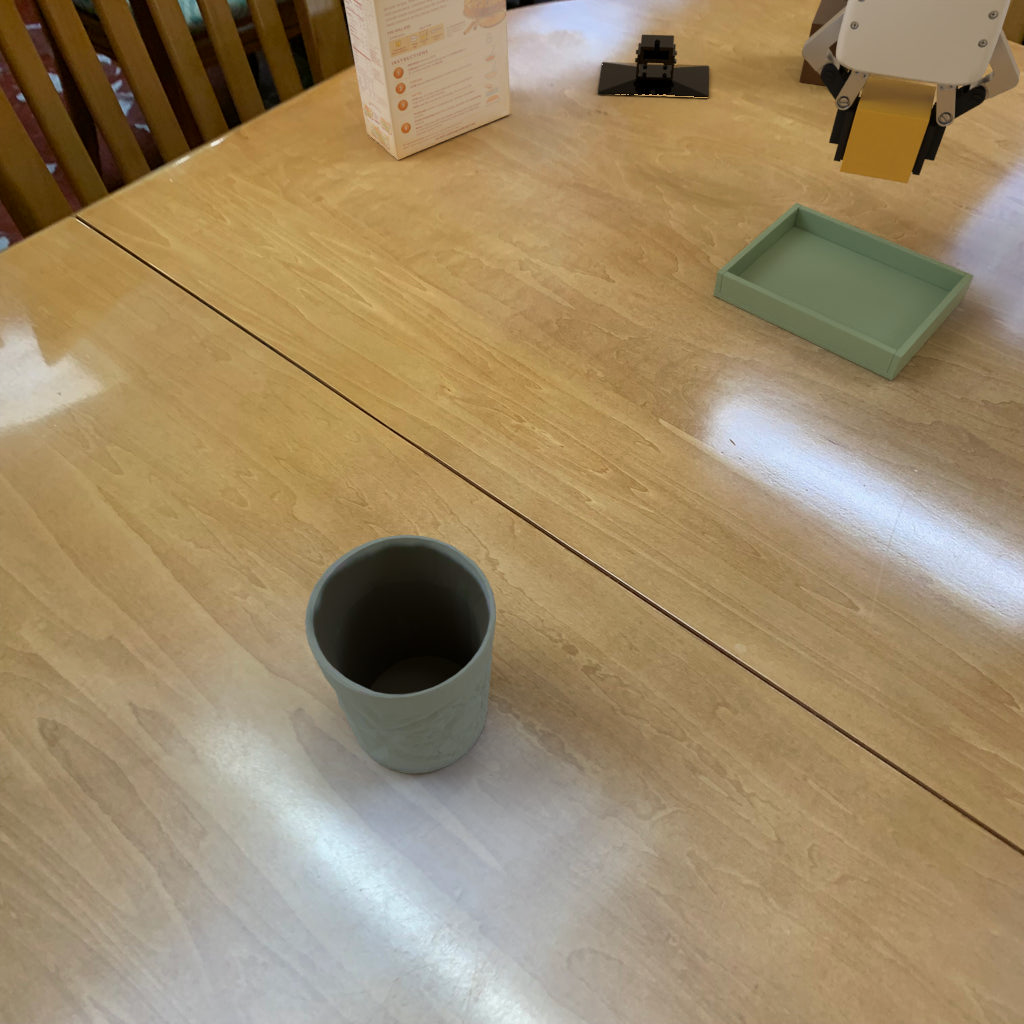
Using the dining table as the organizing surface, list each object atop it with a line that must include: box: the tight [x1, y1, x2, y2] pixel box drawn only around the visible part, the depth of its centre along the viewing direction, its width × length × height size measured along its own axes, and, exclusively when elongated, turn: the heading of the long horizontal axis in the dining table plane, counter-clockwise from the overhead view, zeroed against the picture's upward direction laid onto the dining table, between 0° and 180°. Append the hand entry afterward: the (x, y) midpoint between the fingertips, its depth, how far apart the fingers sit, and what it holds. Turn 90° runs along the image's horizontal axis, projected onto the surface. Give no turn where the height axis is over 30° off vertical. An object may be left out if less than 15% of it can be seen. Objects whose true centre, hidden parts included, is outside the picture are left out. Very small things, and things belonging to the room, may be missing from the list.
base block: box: [799, 0, 849, 87], centre depth 103 cm, size 6×6×6 cm
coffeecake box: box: [343, 0, 512, 161], centre depth 94 cm, size 15×7×20 cm, turn 126°
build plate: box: [597, 34, 710, 97], centre depth 104 cm, size 12×7×5 cm, turn 82°
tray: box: [713, 202, 975, 381], centre depth 81 cm, size 17×13×3 cm
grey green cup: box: [304, 534, 497, 774], centre depth 54 cm, size 10×10×12 cm
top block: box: [839, 76, 937, 184], centre depth 69 cm, size 5×5×5 cm
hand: (878, 156), depth 71 cm, fingers closed on top block, 5 cm apart
